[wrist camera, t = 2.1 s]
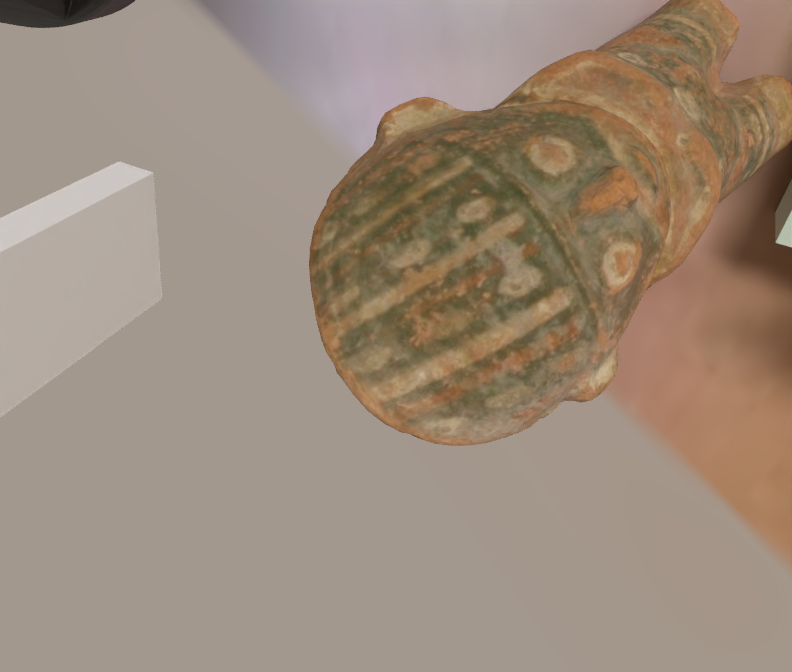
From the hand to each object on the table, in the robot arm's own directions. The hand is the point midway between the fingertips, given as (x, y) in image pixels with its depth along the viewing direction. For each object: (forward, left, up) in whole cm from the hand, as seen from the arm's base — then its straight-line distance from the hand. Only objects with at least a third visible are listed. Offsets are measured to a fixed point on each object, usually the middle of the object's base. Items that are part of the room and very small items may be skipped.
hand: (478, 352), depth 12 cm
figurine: (0, 0, -16) cm, 16 cm away
